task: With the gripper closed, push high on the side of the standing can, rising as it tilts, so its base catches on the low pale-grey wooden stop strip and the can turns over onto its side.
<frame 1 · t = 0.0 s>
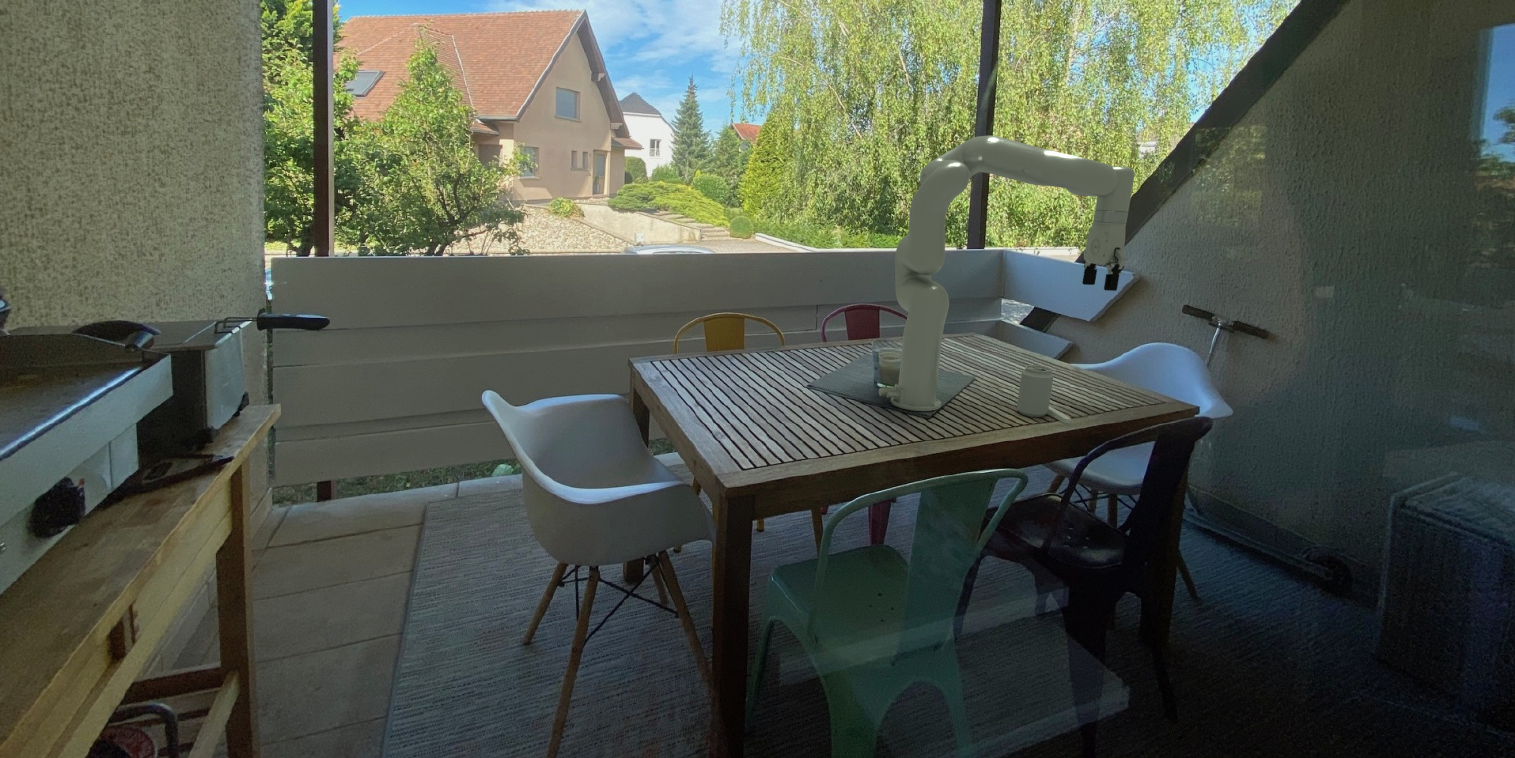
hand: (1099, 287, 195), 31 cm above the table, tool pointing down, fingers open, 9 cm apart
can: (1031, 414, 194), on the table
stop strip: (1049, 412, 195), on the table
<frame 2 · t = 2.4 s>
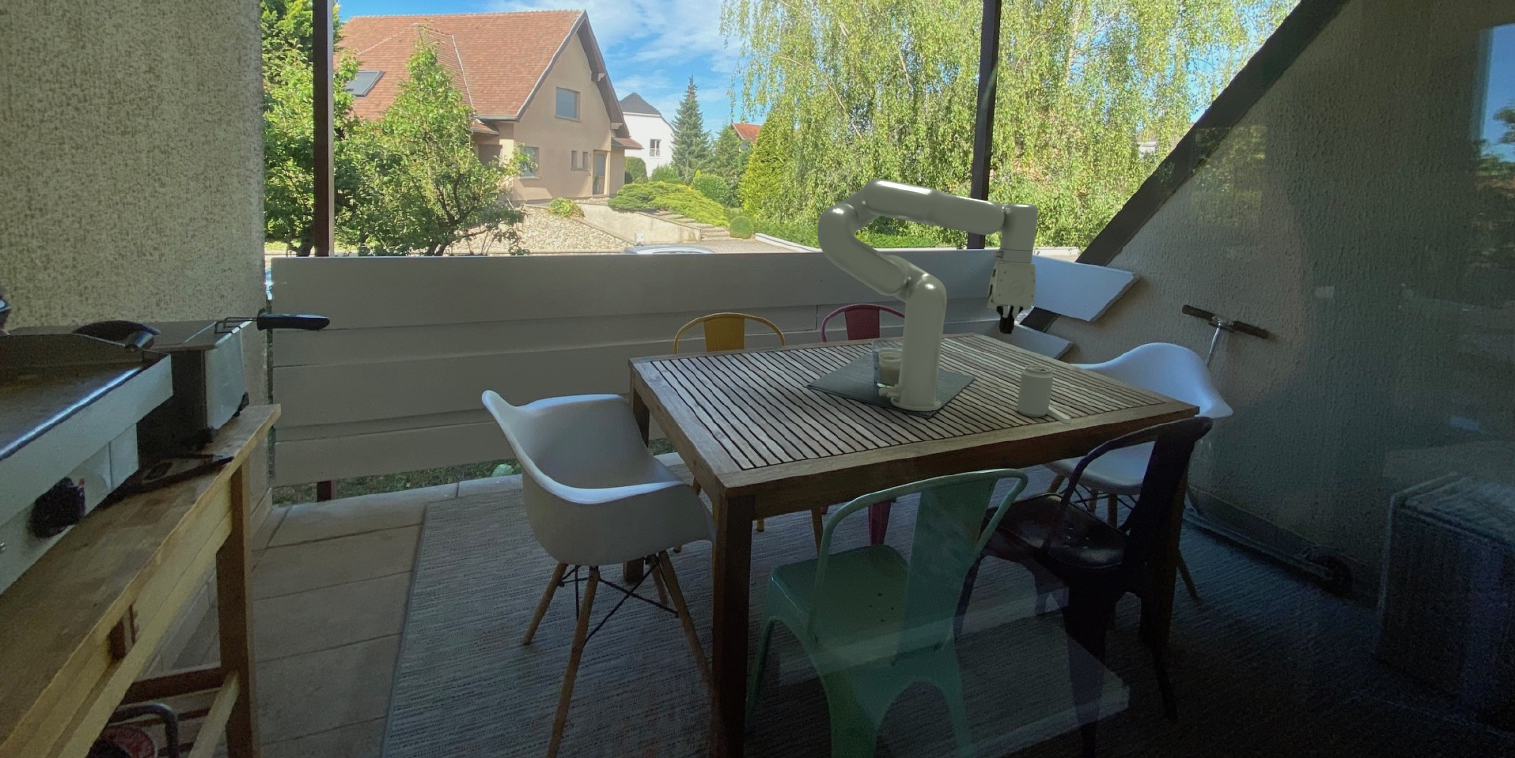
hand: (1005, 333, 187), 20 cm above the table, tool pointing down, fingers closed
nothing on the table moved.
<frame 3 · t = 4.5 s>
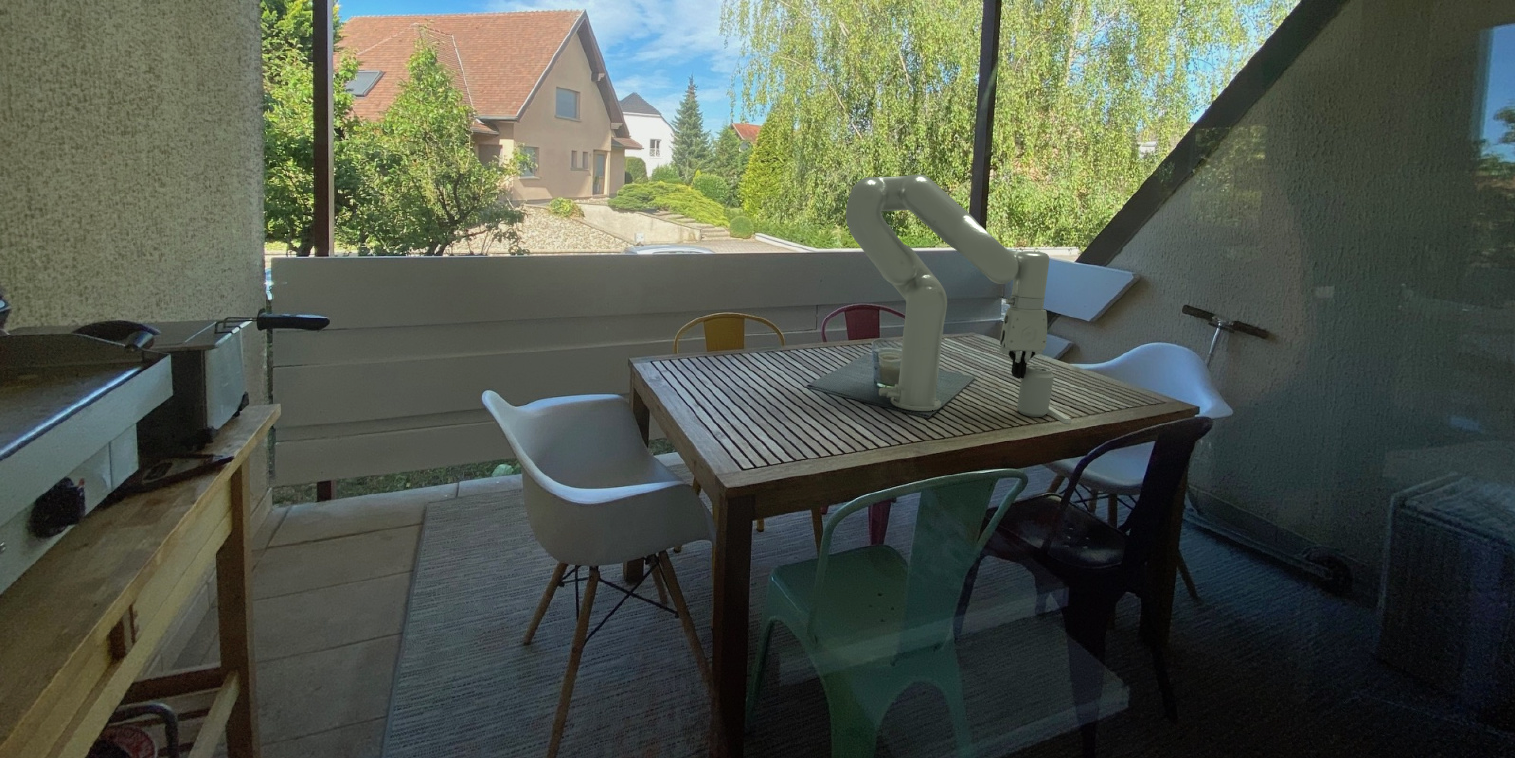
hand: (1017, 377, 190), 9 cm above the table, tool pointing down, fingers closed
can: (1031, 414, 194), on the table, touching gripper
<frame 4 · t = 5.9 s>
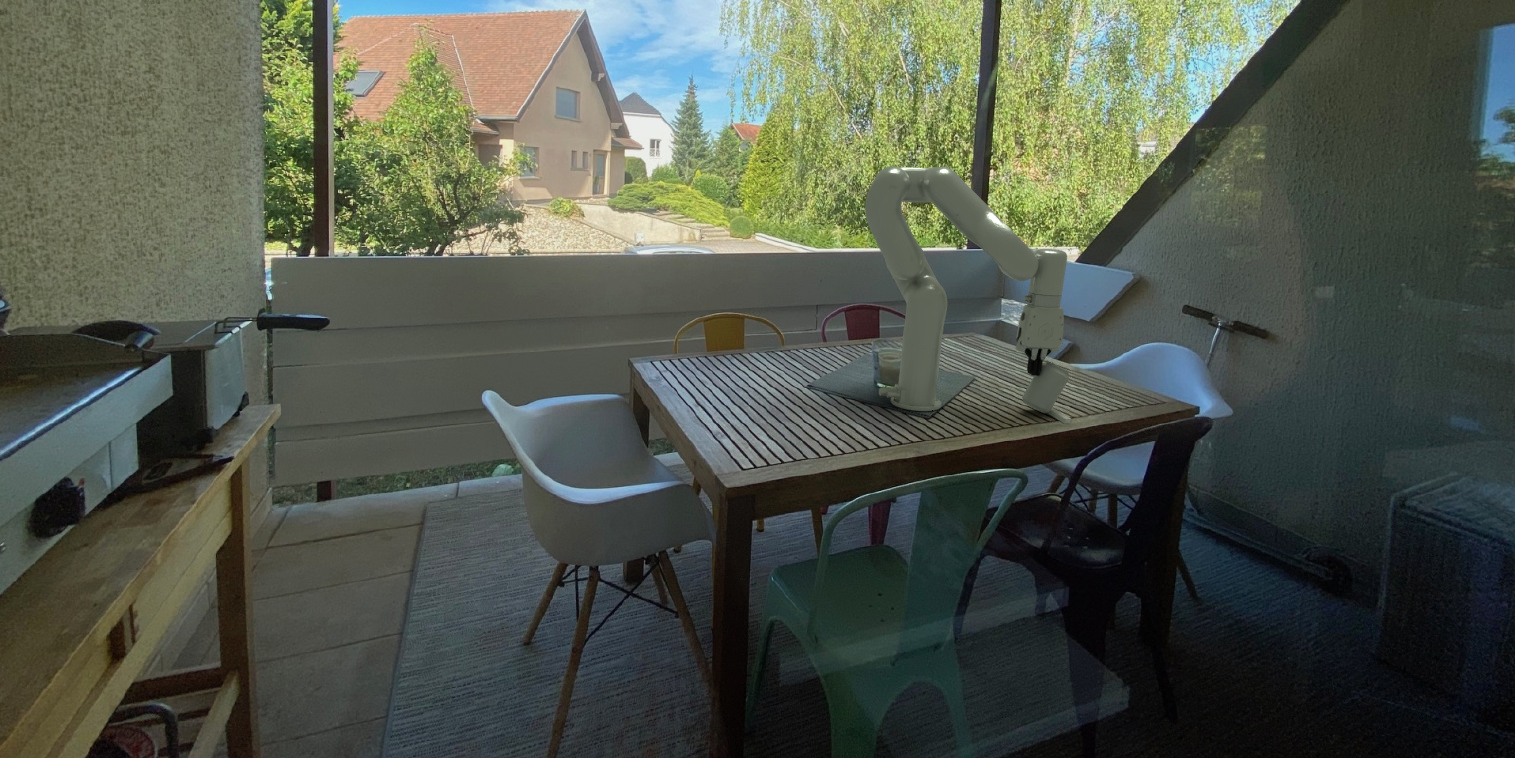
hand: (1033, 374, 191), 10 cm above the table, tool pointing down, fingers closed
can: (1033, 408, 193), point 1 cm above the table
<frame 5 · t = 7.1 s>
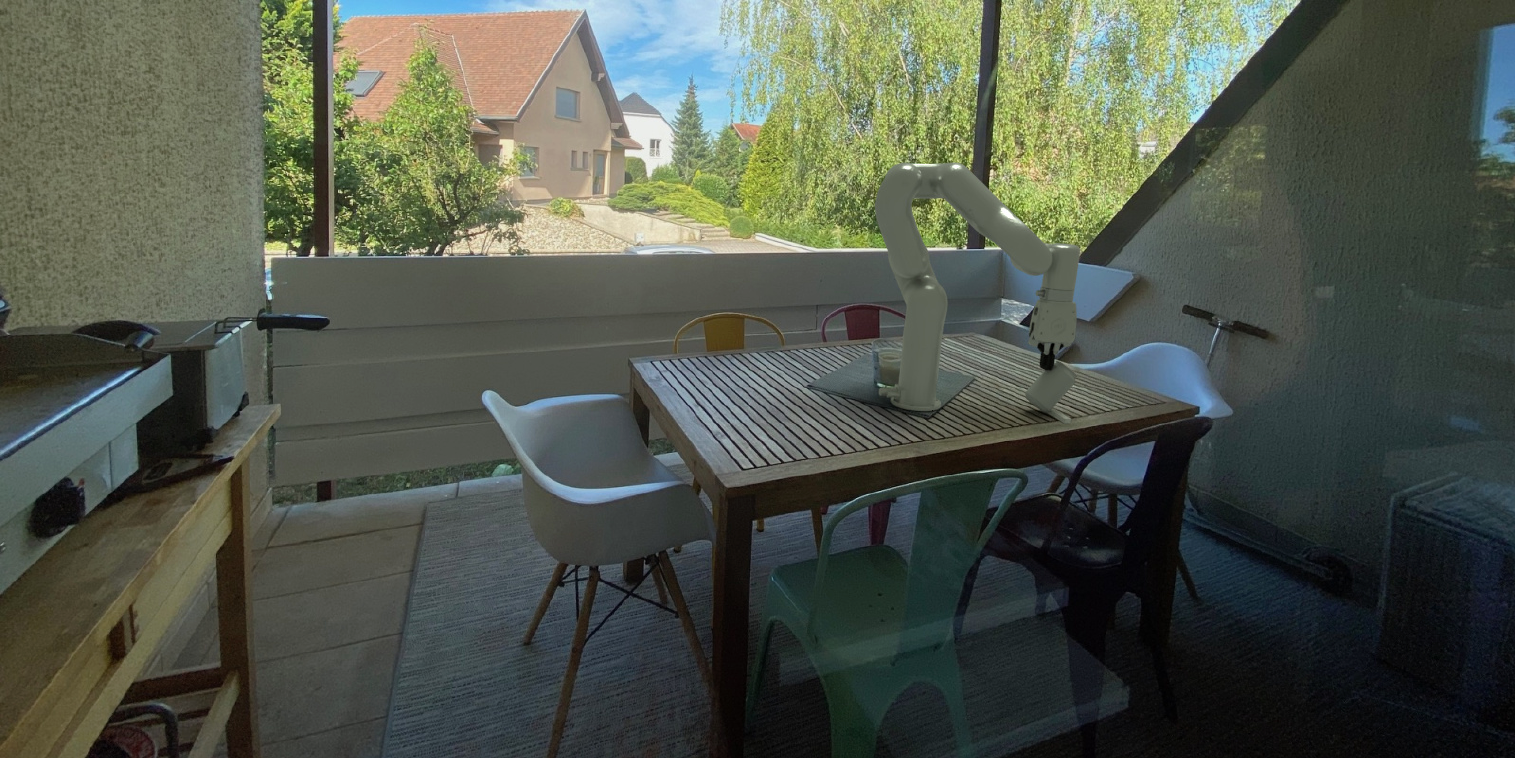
hand: (1045, 369, 191), 12 cm above the table, tool pointing down, fingers closed
can: (1034, 405, 193), point 2 cm above the table, touching gripper, stop strip
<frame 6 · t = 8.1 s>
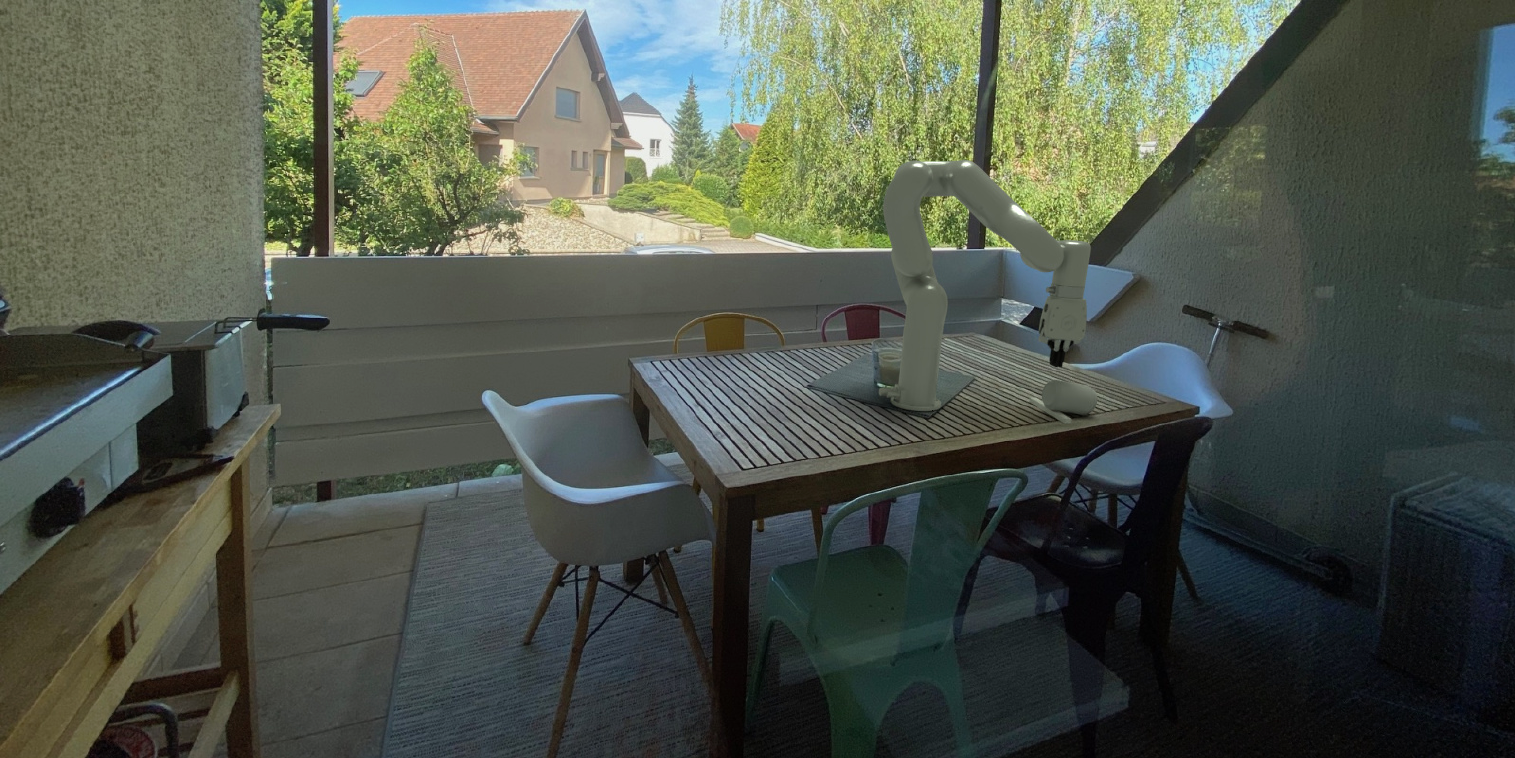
hand: (1055, 365, 191), 12 cm above the table, tool pointing down, fingers closed
can: (1048, 393, 192), point 5 cm above the table, touching stop strip
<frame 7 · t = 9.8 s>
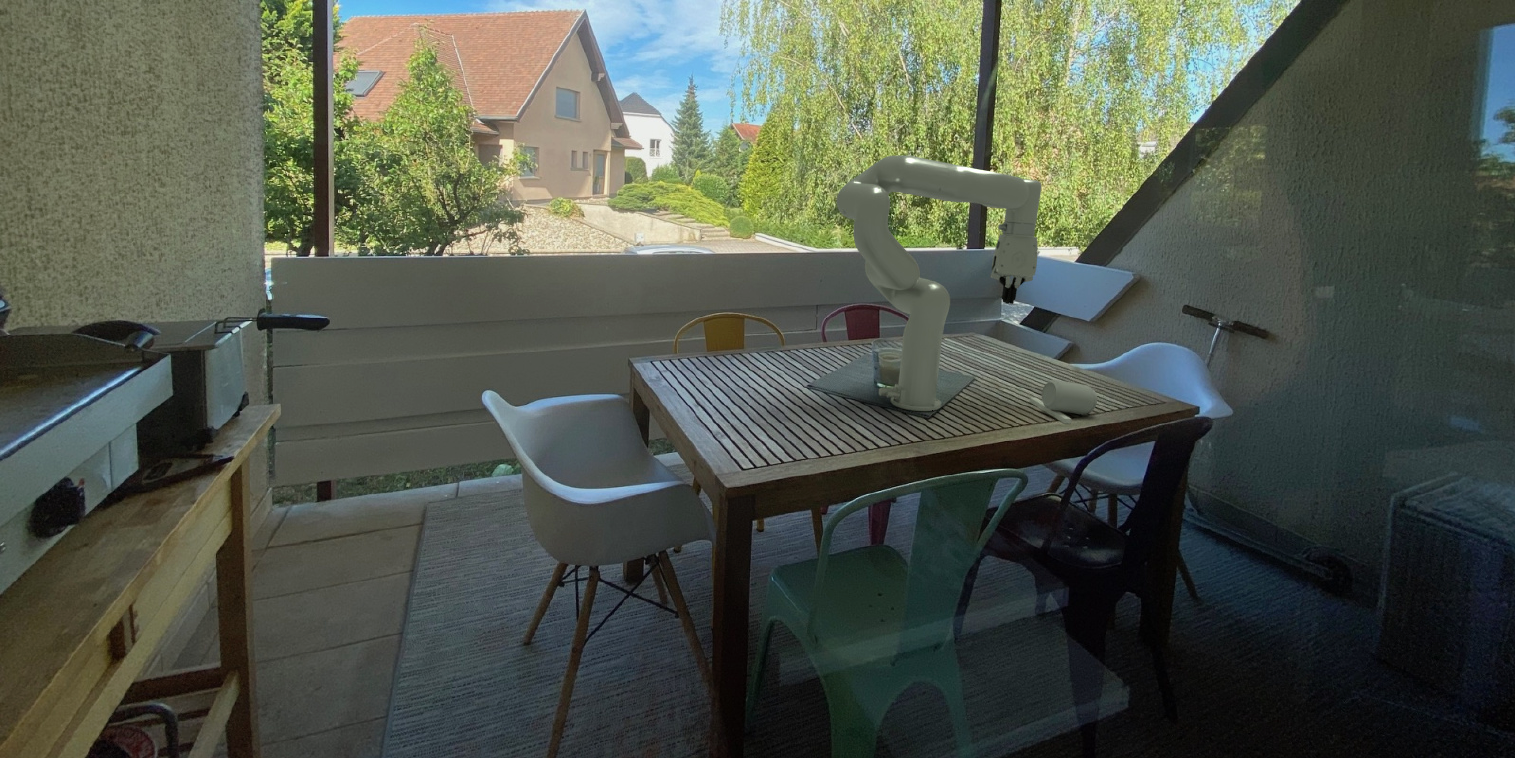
hand: (1007, 302, 197), 26 cm above the table, tool pointing down, fingers closed
nothing on the table moved.
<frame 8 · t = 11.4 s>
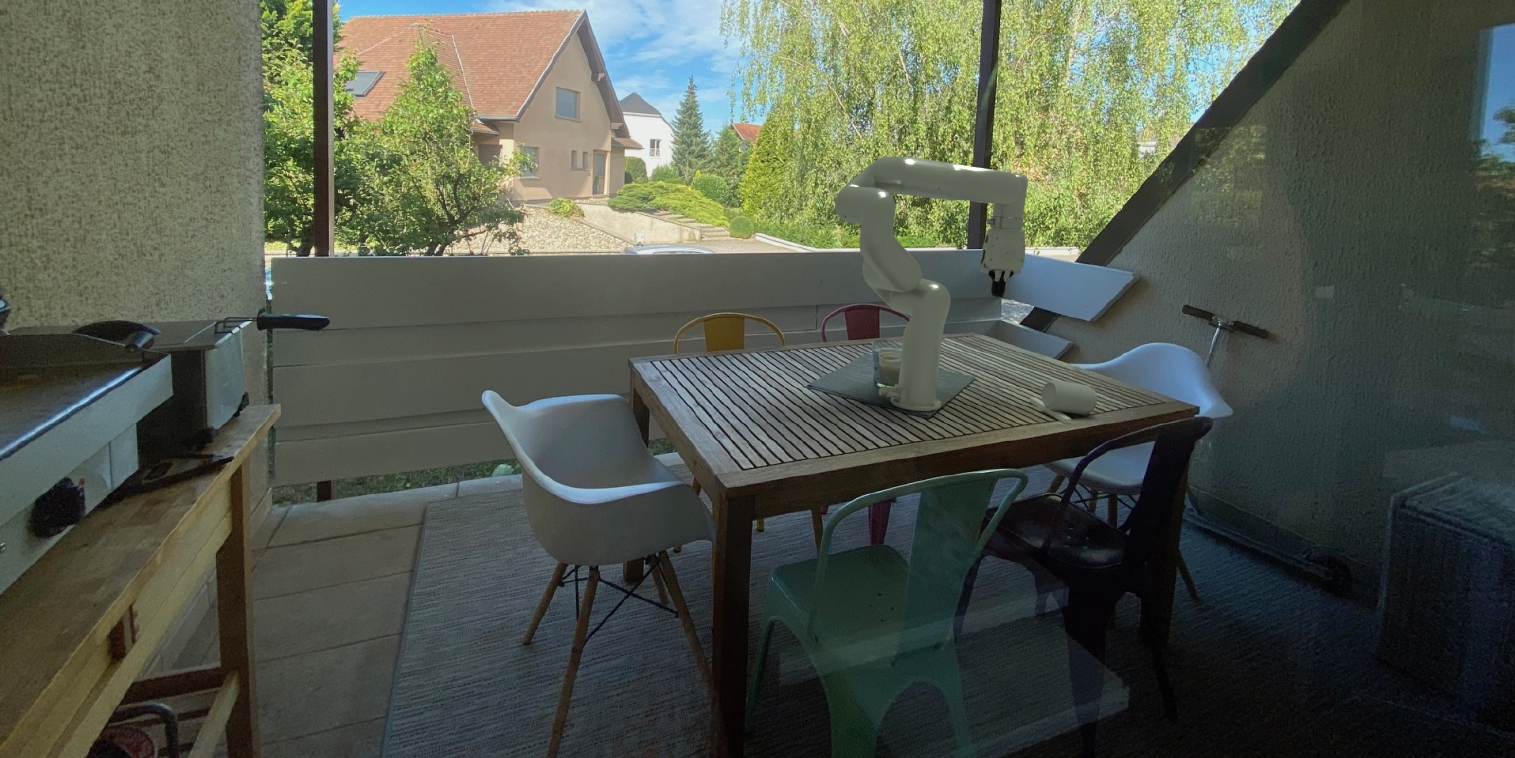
hand: (997, 296, 200), 27 cm above the table, tool pointing down, fingers closed
nothing on the table moved.
at the end: can tilted 100°; can inside the target area (3.1 cm from its centre), point 5.5 cm above the table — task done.
